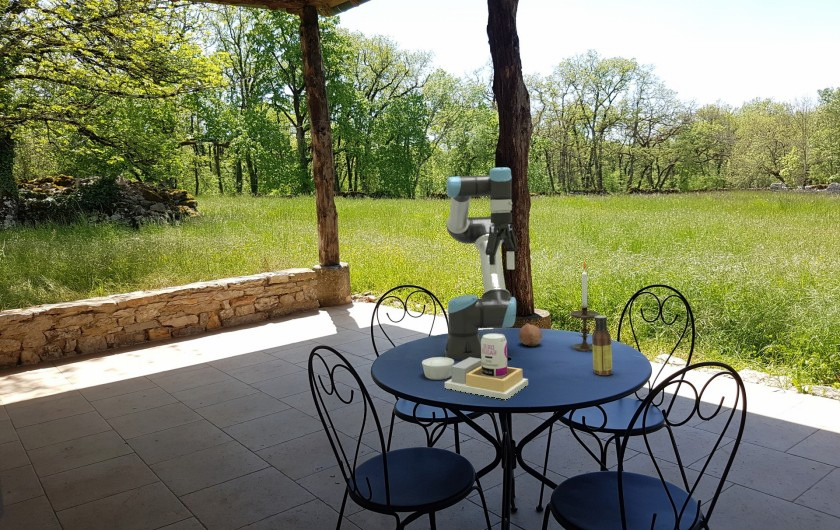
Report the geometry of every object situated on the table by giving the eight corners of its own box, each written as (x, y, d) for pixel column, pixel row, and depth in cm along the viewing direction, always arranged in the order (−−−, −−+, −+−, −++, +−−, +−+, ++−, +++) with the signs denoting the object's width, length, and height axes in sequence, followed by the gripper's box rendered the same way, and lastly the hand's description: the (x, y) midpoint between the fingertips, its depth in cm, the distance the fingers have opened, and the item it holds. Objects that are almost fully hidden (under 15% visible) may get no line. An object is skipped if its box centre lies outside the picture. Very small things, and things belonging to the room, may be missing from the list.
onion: (523, 350, 226) (517, 327, 229) (545, 345, 224) (539, 321, 227) (520, 348, 217) (514, 324, 220) (543, 342, 215) (536, 318, 218)
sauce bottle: (612, 371, 186) (612, 314, 184) (612, 376, 180) (612, 318, 178) (592, 369, 188) (592, 314, 186) (591, 375, 182) (591, 317, 180)
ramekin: (417, 374, 191) (417, 359, 191) (446, 369, 196) (445, 355, 195) (430, 383, 181) (429, 368, 180) (460, 377, 185) (459, 363, 185)
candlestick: (574, 344, 222) (574, 259, 218) (601, 346, 216) (601, 260, 212) (567, 350, 213) (566, 262, 209) (595, 353, 207) (595, 263, 203)
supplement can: (506, 377, 177) (505, 332, 175) (508, 385, 169) (507, 339, 167) (481, 377, 178) (480, 333, 176) (482, 385, 170) (481, 339, 168)
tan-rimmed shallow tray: (444, 388, 175) (444, 367, 174) (469, 374, 188) (468, 355, 187) (506, 400, 162) (505, 378, 162) (528, 384, 175) (527, 364, 174)
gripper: (494, 213, 178) (495, 276, 180) (525, 210, 198) (526, 267, 201) (474, 213, 182) (476, 275, 185) (507, 211, 203) (508, 266, 205)
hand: (502, 271), depth 193 cm, fingers open, 13 cm apart
